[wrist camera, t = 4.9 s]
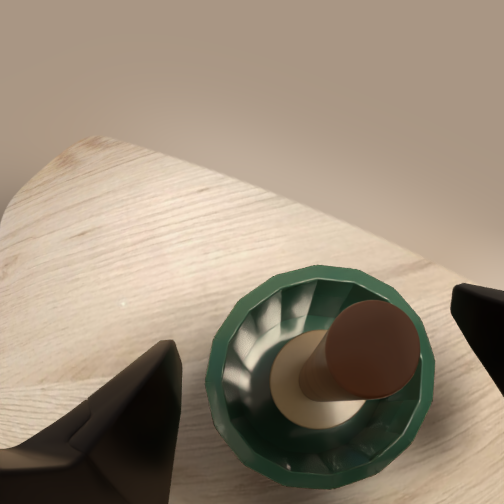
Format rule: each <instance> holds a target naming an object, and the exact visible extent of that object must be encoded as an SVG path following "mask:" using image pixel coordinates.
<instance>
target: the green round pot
mask: <svg viewBox="0 0 504 504" xmlns="http://www.w3.org/2000/svg"><path fill="white" fill-rule="evenodd" d="M366 300H380V301H385V302H388V303H391V304H393V305H395V306H397V307H398V308H400V309H401V310H402V311H404V312H405V313H406V314H407V315H408V316H409V318H410V319H411V320H412V322H413V323H414V325H415V327H416V329H417V332H418V335H419V339H420V358H419V363H418V366H417V368H416V371H415V373H414V375H413V376H412V378H411V379H410V381H409V382H408V383H407V384H406V385H405V386H404V387H403V388H402V389H401V390H399V391H398V392H396V393H394V394H392V395H390V396H388V397H385V398H380V399H372V400H366V402H365V403H364V405H363V407H362V408H361V409H360V410H359V412H358V413H357V414H356V415H355V416H354V417H352V418H351V419H350V420H348V421H347V422H345V423H343V424H341V425H339V426H336V427H333V428H329V429H321V430H320V429H308V428H305V427H301V426H299V425H297V424H295V423H293V422H291V421H290V420H288V419H287V418H286V417H285V416H284V415H283V414H282V413H281V412H280V411H279V409H278V408H277V406H276V405H275V403H274V401H273V398H272V395H271V392H270V385H269V378H270V371H271V367H272V364H273V361H274V359H275V357H276V355H277V354H278V352H279V351H280V350H281V349H282V347H283V346H284V345H285V344H286V343H288V342H289V341H290V340H291V339H293V338H294V337H296V336H298V335H300V334H302V333H305V332H308V331H313V330H328V329H329V327H330V326H331V324H332V323H333V321H334V320H335V319H336V317H337V316H338V315H339V314H340V313H341V312H342V311H343V310H345V309H346V308H347V307H349V306H351V305H353V304H355V303H358V302H361V301H366ZM434 373H435V360H434V355H433V352H432V349H431V346H430V343H429V340H428V337H427V334H426V331H425V328H424V325H423V322H422V321H421V319H420V317H419V316H418V315H417V314H416V313H415V311H414V310H413V309H412V308H411V307H410V306H409V304H408V303H407V302H406V301H405V300H404V299H403V298H402V296H401V295H400V294H399V293H398V292H397V291H396V290H395V289H394V288H393V287H391V286H389V285H387V284H385V283H384V282H382V281H380V280H378V279H376V278H374V277H372V276H370V275H368V274H366V273H364V272H362V271H360V270H357V269H351V268H342V267H333V266H324V265H313V266H309V267H306V268H302V269H298V270H294V271H290V272H286V273H282V274H278V275H275V276H273V277H271V278H270V279H268V280H267V281H265V282H264V283H263V284H261V285H260V286H258V287H257V288H255V289H254V290H253V291H251V292H250V293H248V294H247V295H245V296H244V297H243V298H241V299H240V300H239V301H238V302H237V303H236V305H235V306H234V308H233V309H232V311H231V312H230V314H229V315H228V317H227V318H226V320H225V321H224V323H223V324H222V326H221V327H220V329H219V330H218V332H217V333H216V335H215V336H214V339H213V342H212V347H211V352H210V357H209V362H208V367H207V372H206V377H205V387H206V392H207V396H208V401H209V405H210V410H211V414H212V419H213V423H214V426H215V427H216V430H217V431H218V432H219V434H220V435H221V436H222V438H223V439H224V441H225V442H226V443H227V444H228V446H229V447H230V448H231V450H232V451H233V452H234V454H235V455H236V456H237V457H238V459H239V460H240V461H241V462H242V463H243V464H244V465H245V466H247V467H249V468H250V469H252V470H254V471H256V472H258V473H259V474H261V475H263V476H265V477H267V478H269V479H271V480H273V481H275V482H277V483H279V484H281V485H283V486H286V487H296V488H309V489H327V490H331V489H336V488H339V487H342V486H345V485H348V484H351V483H354V482H357V481H360V480H363V479H365V478H368V477H371V476H373V475H376V474H377V473H379V472H380V471H382V470H383V469H384V468H385V467H386V466H387V465H389V464H390V463H391V462H392V461H393V460H394V459H395V458H397V457H398V456H399V455H400V454H401V453H402V452H403V451H404V450H405V449H406V448H407V447H408V446H410V445H411V443H412V442H413V441H414V439H415V437H416V435H417V433H418V431H419V429H420V427H421V425H422V423H423V421H424V419H425V417H426V414H427V412H428V410H429V408H430V406H431V402H432V401H433V389H434Z"/></svg>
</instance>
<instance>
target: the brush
mask: <svg viewBox="0 0 504 504" xmlns="http://www.w3.org/2000/svg"><path fill="white" fill-rule="evenodd" d="M419 358H420V339H419V335H418V332H417V329H416V327H415V325H414V323H413V322H412V320H411V319H410V318H409V316H408V315H407V314H406V313H405V312H404V311H402V310H401V309H400V308H398V307H397V306H395V305H393V304H391V303H388V302H385V301H380V300H366V301H361V302H358V303H355V304H353V305H351V306H349V307H347V308H346V309H345V310H343V311H342V312H341V313H340V314H339V315H338V316H337V317H336V319H335V320H334V321H333V323H332V324H331V326H330V327H329V329H328V330H313V331H308V332H305V333H302V334H300V335H298V336H296V337H294V338H293V339H291V340H290V341H289V342H288V343H286V344H285V345H284V346H283V347H282V349H281V350H280V351H279V352H278V354H277V355H276V357H275V359H274V361H273V364H272V367H271V371H270V378H269V385H270V392H271V395H272V398H273V401H274V403H275V405H276V406H277V408H278V409H279V411H280V412H281V413H282V414H283V415H284V416H285V417H286V418H287V419H288V420H290V421H291V422H293V423H295V424H297V425H299V426H301V427H305V428H308V429H320V430H321V429H329V428H333V427H336V426H339V425H341V424H343V423H345V422H347V421H348V420H350V419H351V418H352V417H354V416H355V415H356V414H357V413H358V412H359V410H360V409H361V408H362V407H363V405H364V403H365V402H366V400H372V399H380V398H385V397H388V396H390V395H392V394H394V393H396V392H398V391H399V390H401V389H402V388H403V387H404V386H405V385H406V384H407V383H408V382H409V381H410V379H411V378H412V376H413V375H414V373H415V371H416V368H417V366H418V363H419Z"/></svg>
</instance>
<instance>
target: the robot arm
mask: <svg viewBox="0 0 504 504" xmlns="http://www.w3.org/2000/svg"><path fill="white" fill-rule="evenodd" d="M450 310H451V314H452V316H453V318H454V320H455V321H456V323H457V325H458V326H459V328H460V330H461V331H462V333H463V335H464V337H465V338H466V340H467V342H468V344H469V345H470V347H471V348H472V350H473V351H474V353H475V354H476V356H477V357H478V359H479V360H480V362H481V363H482V365H483V366H484V367H485V369H486V370H487V372H488V373H489V375H490V377H491V378H492V380H493V381H494V383H495V384H496V386H497V387H498V389H499V390H500V392H501V394H502V395H503V397H504V291H502V290H497V289H492V288H487V287H482V286H477V285H471V284H466V283H462V284H459V285H456V286H454V288H453V291H452V299H451V307H450ZM181 399H182V362H181V359H180V356H179V353H178V350H177V347H176V344H175V342H174V341H173V340H161V341H159V342H158V343H157V344H155V345H154V346H153V347H152V348H150V349H149V350H148V351H147V352H145V353H144V354H143V355H142V356H140V357H139V358H138V359H137V360H135V361H134V362H133V363H131V364H130V365H129V366H128V367H126V368H125V369H124V370H123V371H121V372H120V373H119V374H118V375H116V376H115V377H114V378H113V379H111V380H110V381H109V382H107V383H106V384H105V385H104V386H102V387H101V388H100V389H99V390H97V391H96V392H95V393H93V394H92V395H91V396H90V397H88V399H87V400H84V401H83V402H82V403H81V404H79V405H78V406H77V407H75V408H74V409H73V410H71V411H70V412H69V413H67V414H66V415H65V416H63V417H62V418H60V419H59V420H57V421H56V422H54V423H53V424H51V425H50V426H48V427H47V428H45V429H43V430H42V431H40V432H39V433H37V434H36V435H34V436H32V437H31V438H29V439H28V440H26V441H25V442H23V443H21V444H19V445H17V446H15V447H12V448H7V449H0V504H168V502H169V493H170V486H171V478H172V470H173V463H174V456H175V449H176V442H177V435H178V428H179V422H180V415H181Z"/></svg>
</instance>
